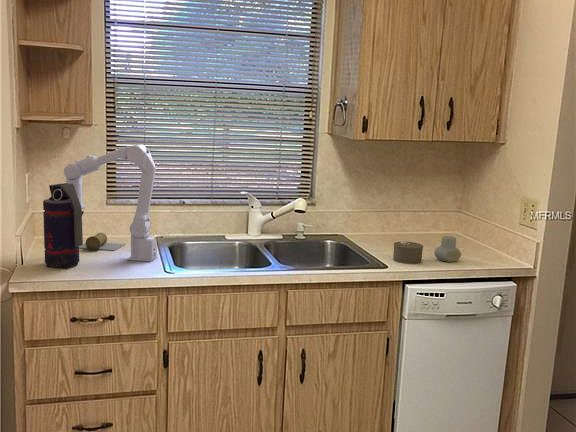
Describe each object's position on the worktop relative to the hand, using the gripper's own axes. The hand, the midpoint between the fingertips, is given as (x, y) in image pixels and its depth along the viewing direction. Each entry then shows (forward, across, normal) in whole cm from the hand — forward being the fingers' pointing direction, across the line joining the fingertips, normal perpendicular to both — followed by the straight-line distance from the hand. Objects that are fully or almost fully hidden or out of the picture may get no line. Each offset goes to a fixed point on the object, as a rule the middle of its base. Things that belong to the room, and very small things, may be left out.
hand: (74, 229), depth 234 cm
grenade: (+11, +14, +2) cm, 18 cm away
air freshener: (+11, -34, +147) cm, 151 cm away
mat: (+10, -18, +3) cm, 21 cm away
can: (+11, -29, +130) cm, 134 cm away
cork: (+7, -10, +3) cm, 13 cm away
